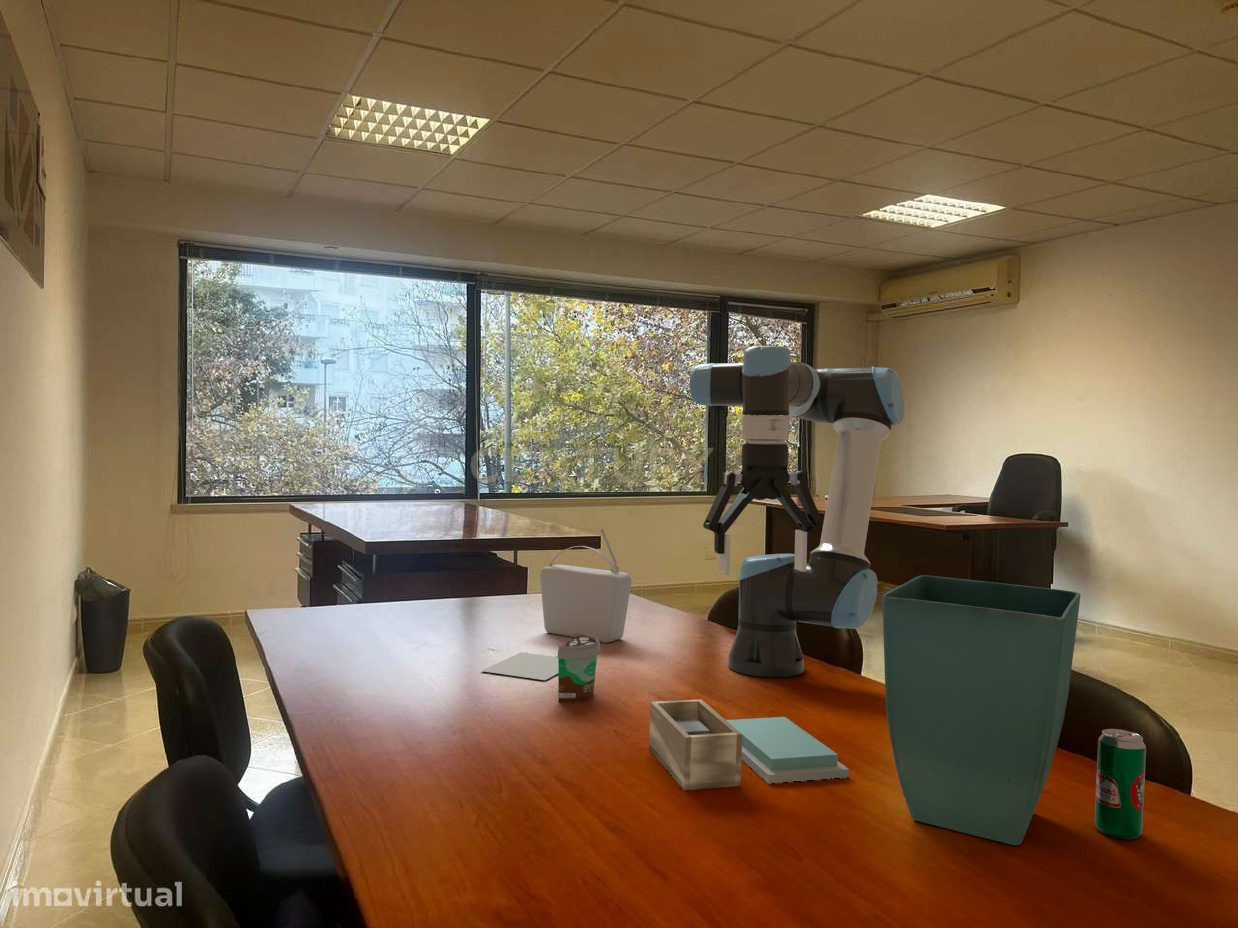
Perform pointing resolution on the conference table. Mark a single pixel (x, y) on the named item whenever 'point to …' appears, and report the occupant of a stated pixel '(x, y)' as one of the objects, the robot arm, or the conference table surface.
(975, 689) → the flower pot
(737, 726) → the lid
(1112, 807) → the soda can
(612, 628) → the radio
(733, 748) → the box
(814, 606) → the robot arm
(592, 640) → the food container
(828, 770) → the mat
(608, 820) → the conference table surface
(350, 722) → the conference table surface
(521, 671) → the paper stack
